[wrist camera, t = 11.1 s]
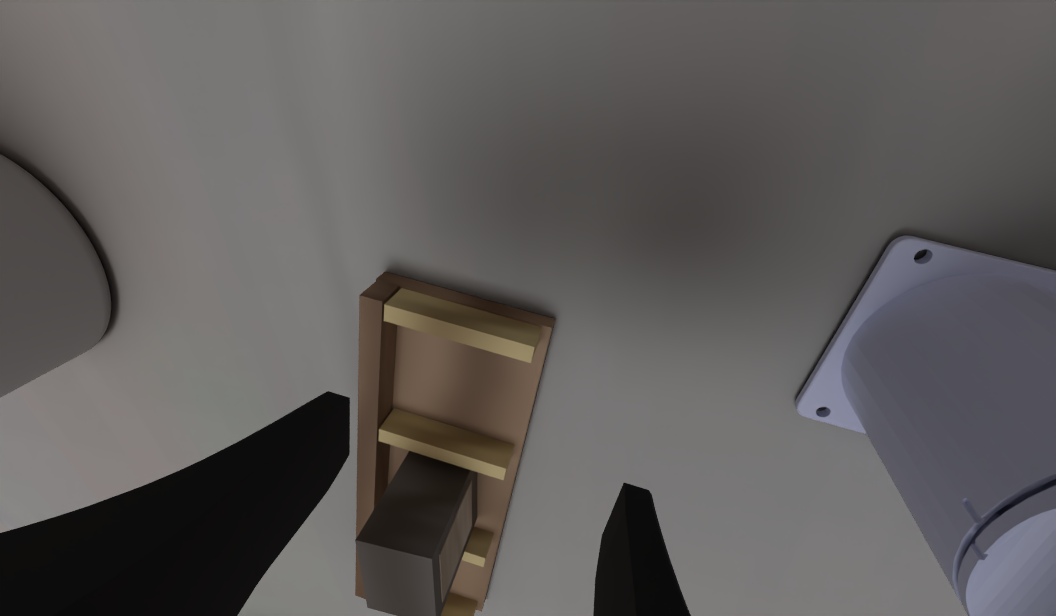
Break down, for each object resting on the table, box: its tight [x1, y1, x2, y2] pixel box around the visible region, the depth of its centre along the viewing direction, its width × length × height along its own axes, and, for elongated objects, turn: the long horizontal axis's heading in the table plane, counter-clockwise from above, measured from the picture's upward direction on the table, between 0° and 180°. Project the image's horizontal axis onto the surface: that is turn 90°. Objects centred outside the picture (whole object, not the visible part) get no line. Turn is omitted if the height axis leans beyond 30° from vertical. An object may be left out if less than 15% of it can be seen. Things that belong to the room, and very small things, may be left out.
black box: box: [355, 451, 477, 616], centre depth 24 cm, size 4×5×6 cm
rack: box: [355, 272, 555, 616], centre depth 26 cm, size 8×22×2 cm, turn 169°
